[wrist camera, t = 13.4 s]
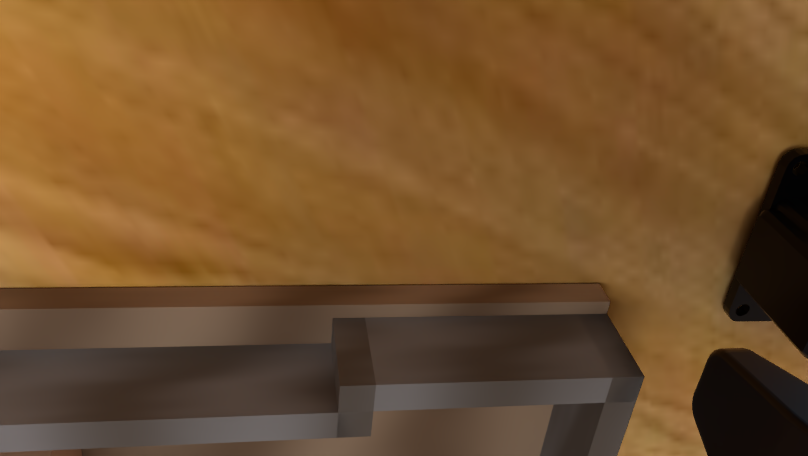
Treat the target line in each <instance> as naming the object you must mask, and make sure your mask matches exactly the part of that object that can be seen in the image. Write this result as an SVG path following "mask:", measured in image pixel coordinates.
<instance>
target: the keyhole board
mask: <svg viewBox="0 0 808 456" xmlns="http://www.w3.org/2000/svg"><path fill="white" fill-rule="evenodd" d="M609 305H610V300H609V299H608V297H607V295H606V294H605V292H604V290H603V289H602V287H601V286H600V284H487V285H368V286H248V287H129V288H10V289H0V453H1V452H23V451H46V450H69V449H81V451H82V456H617V455H618V452H619V449H620V446H621V443H622V440H623V437H624V434H625V431H626V429H627V426H628V423H629V420H630V417H631V414H632V411H633V408H634V405H635V402H636V400H637V397H638V394H639V391H640V388H641V385H642V382H643V379H644V375H643V373H642V372H641V370H640V368H639V367H638V365H637V363H636V362H635V360H634V358H633V357H632V355H631V353H630V352H629V350H628V348H627V347H626V345H625V343H624V342H623V340H622V338H621V337H620V335H619V333H618V332H617V330H616V328H615V327H614V325H613V323H612V322H611V320H610V318H609V317H608V315H607V311H608V308H609Z"/></svg>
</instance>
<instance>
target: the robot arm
mask: <svg viewBox="0 0 808 456" xmlns="http://www.w3.org/2000/svg"><path fill="white" fill-rule="evenodd" d="M799 162H801V163H800V165H799V166H798V167H797V168H795V169H793V168H794V167H795V165H796V164H798V163H799ZM741 305H742V306H741ZM739 306H741V307H739ZM738 307H739V308H738ZM723 309H724V311H725V312H726V314H727V315H728V316H729V317H730V318H731V319H732V320H733V321H773V322H774V323H775V324H776V325H777V326H778V328H779V329H780V330H781V331H782V332H783V333H784V334H785V336H786V337H787V338H788V339H789V340H790V341H791V342H792V343H793V345H794V346H795V347H796V348H797V349H798V350H799V351H800V353H801V354H802V355H803V356H804V357H806V358H808V149H803V148H798V149H793V150H791V151H789V152H787V153H786V154H785V155H784V156H783V157H782V158H781V160H780V162H779V164H778V166H777V169H776V171H775V174H774V176H773V179H772V182H771V184H770V187H769V189H768V192H767V194H766V197H765V199H764V202H763V205H762V207H761V210H760V212H759V215H758V217H757V220H756V222H755V225H754V228H753V230H752V233H751V235H750V238H749V240H748V243H747V245H746V248H745V251H744V253H743V256H742V258H741V261H740V263H739V266H738V268H737V271H736V274H735V276H734V279H733V281H732V284H731V286H730V289H729V291H728V294H727V297H726V299H725V302H724V306H723ZM692 410H693V415H694V419H695V422H696V424H697V427H698V430H699V433H700V436H701V438H702V441H703V444H704V447H705V449H706V452H707V455H708V456H808V384H807V383H805V382H803V381H802V380H800V379H798V378H797V377H795V376H793V375H791V374H790V373H788V372H786V371H785V370H783V369H781V368H780V367H778V366H776V365H775V364H773V363H771V362H770V361H768V360H766V359H765V358H763V357H761V356H759V355H758V354H756V353H754V352H753V351H751V350H748V349H744V348H729V349H717V350H715V351H714V352H713V353H711V354H710V356H709V358H708V360H707V363H706V365H705V368H704V370H703V373H702V375H701V378H700V380H699V383H698V385H697V388H696V390H695V393H694V396H693V401H692Z"/></svg>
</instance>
